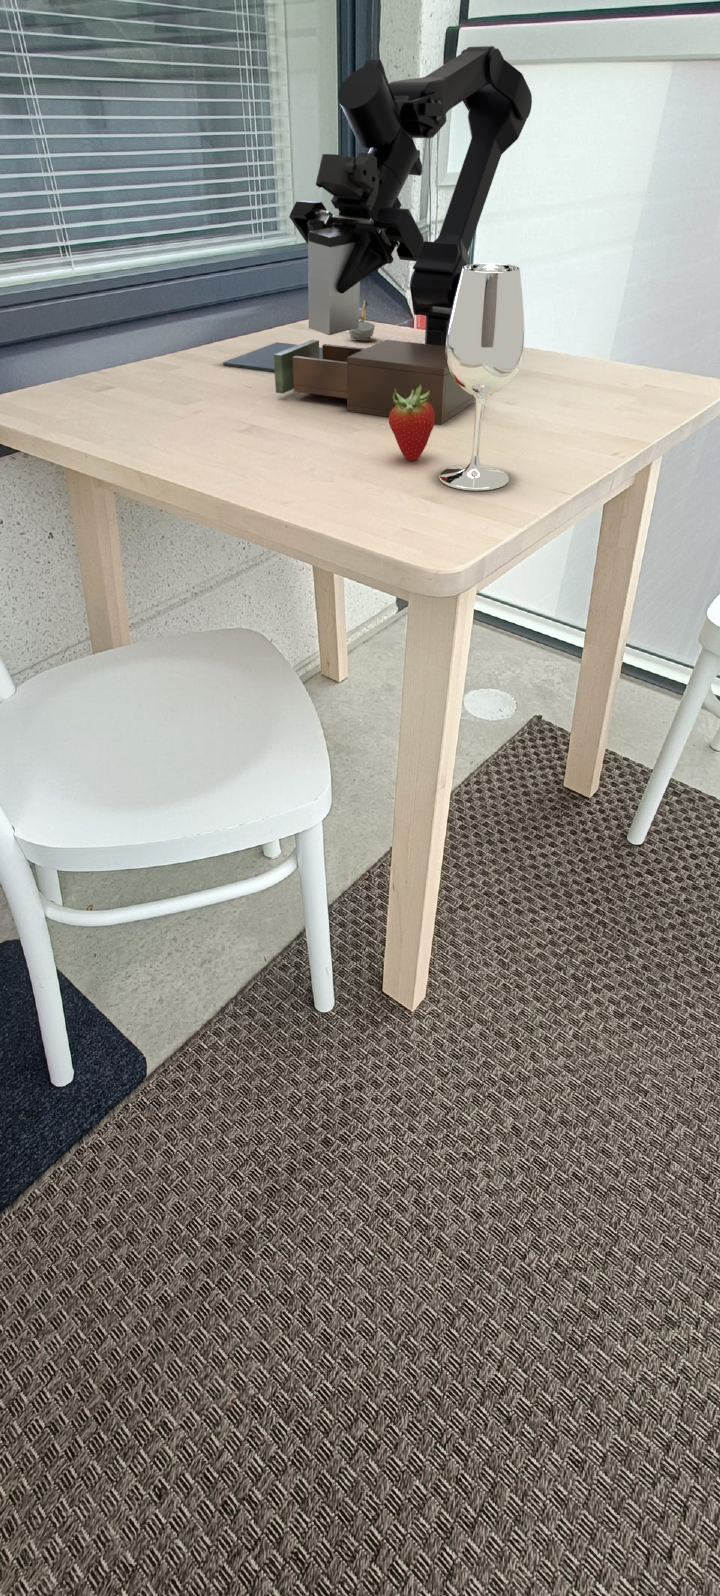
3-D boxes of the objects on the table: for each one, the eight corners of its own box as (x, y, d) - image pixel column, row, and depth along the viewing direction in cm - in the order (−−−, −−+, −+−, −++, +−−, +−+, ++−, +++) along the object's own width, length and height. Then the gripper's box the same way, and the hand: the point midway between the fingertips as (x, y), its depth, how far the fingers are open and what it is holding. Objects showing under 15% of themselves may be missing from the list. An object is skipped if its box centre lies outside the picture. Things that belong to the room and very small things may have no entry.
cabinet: (347, 411, 116) (346, 357, 112) (385, 390, 124) (385, 339, 120) (441, 424, 111) (444, 368, 107) (474, 402, 119) (478, 349, 115)
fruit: (378, 461, 100) (379, 386, 95) (405, 449, 104) (407, 376, 99) (415, 470, 98) (418, 394, 93) (441, 457, 101) (445, 383, 96)
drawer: (268, 391, 121) (265, 353, 118) (305, 375, 128) (304, 338, 125) (356, 404, 116) (356, 364, 113) (390, 385, 123) (390, 348, 120)
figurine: (376, 342, 148) (376, 302, 145) (350, 343, 148) (350, 303, 144) (372, 336, 153) (372, 297, 149) (347, 336, 152) (346, 297, 148)
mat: (276, 345, 147) (276, 342, 147) (350, 353, 142) (350, 350, 142) (223, 365, 136) (223, 362, 136) (300, 375, 131) (300, 372, 131)
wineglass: (423, 480, 95) (433, 268, 83) (467, 462, 100) (482, 259, 87) (481, 497, 91) (500, 277, 79) (523, 478, 96) (548, 267, 83)
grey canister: (338, 320, 119) (339, 226, 111) (358, 327, 117) (361, 232, 109) (308, 328, 116) (307, 231, 109) (329, 335, 114) (330, 237, 107)
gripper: (295, 123, 110) (239, 235, 110) (413, 125, 100) (351, 248, 101) (338, 194, 119) (286, 297, 120) (449, 202, 110) (393, 314, 110)
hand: (326, 289), depth 112 cm, fingers closed on grey canister, 4 cm apart
